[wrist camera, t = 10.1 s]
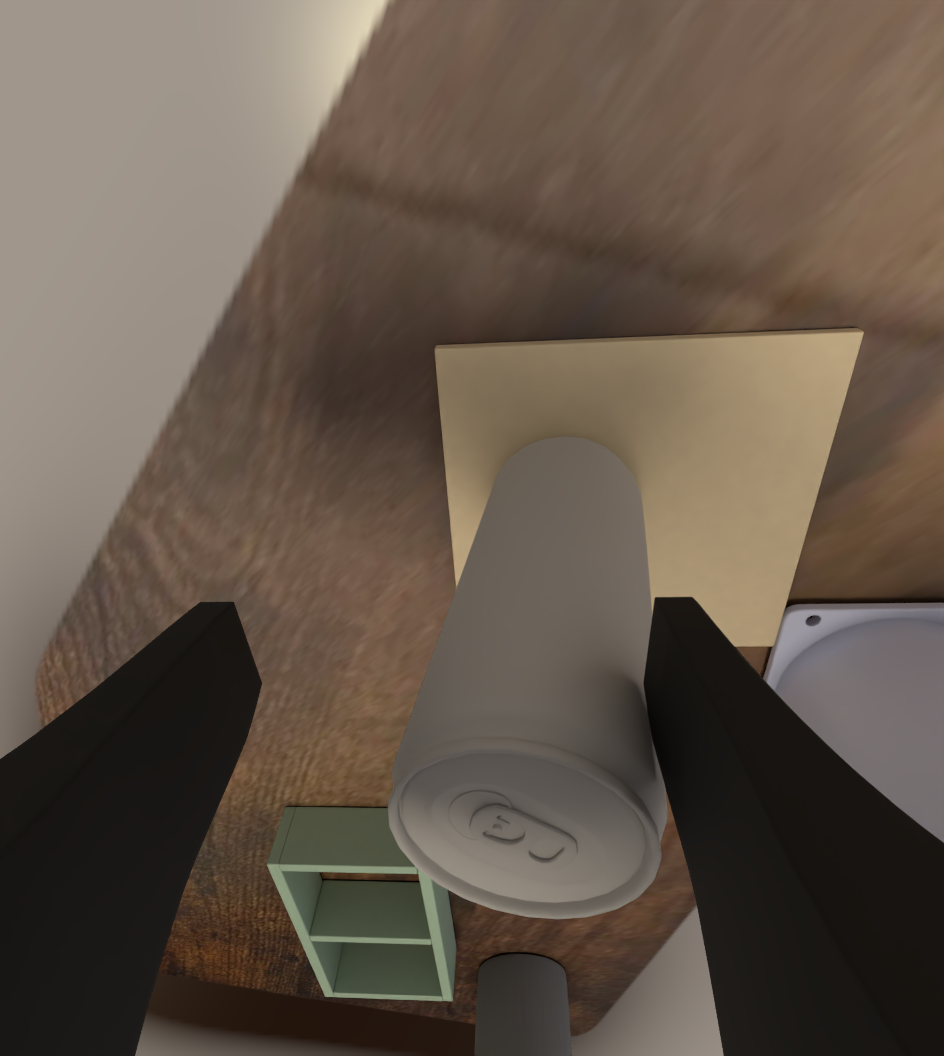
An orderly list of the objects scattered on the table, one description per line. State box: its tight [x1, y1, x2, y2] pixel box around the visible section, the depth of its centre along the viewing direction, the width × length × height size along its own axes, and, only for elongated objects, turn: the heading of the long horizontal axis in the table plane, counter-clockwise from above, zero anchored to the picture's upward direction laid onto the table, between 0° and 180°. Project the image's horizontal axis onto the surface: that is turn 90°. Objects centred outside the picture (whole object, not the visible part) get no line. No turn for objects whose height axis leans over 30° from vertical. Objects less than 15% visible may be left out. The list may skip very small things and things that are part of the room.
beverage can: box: [388, 436, 667, 919], centre depth 15 cm, size 5×5×12 cm
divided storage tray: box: [267, 807, 456, 1001], centre depth 35 cm, size 8×15×3 cm, turn 3°
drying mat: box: [434, 328, 864, 647], centre depth 21 cm, size 12×12×1 cm
